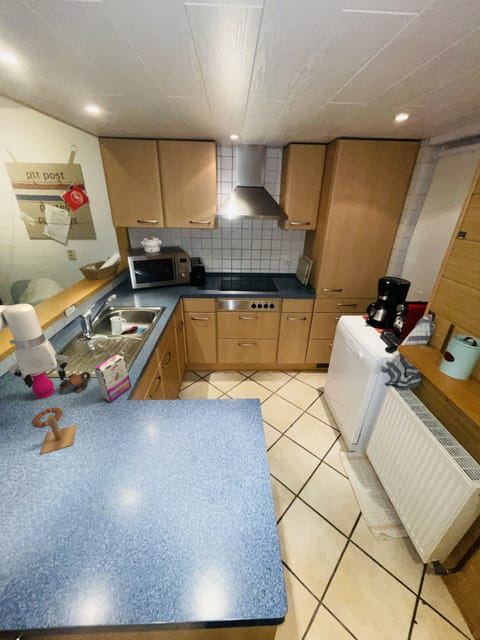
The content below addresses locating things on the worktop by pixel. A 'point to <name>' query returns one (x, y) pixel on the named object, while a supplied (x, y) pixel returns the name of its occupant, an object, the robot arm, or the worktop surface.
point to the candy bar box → (113, 377)
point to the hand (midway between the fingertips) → (47, 381)
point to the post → (58, 436)
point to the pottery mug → (76, 381)
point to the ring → (37, 418)
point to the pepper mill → (42, 385)
